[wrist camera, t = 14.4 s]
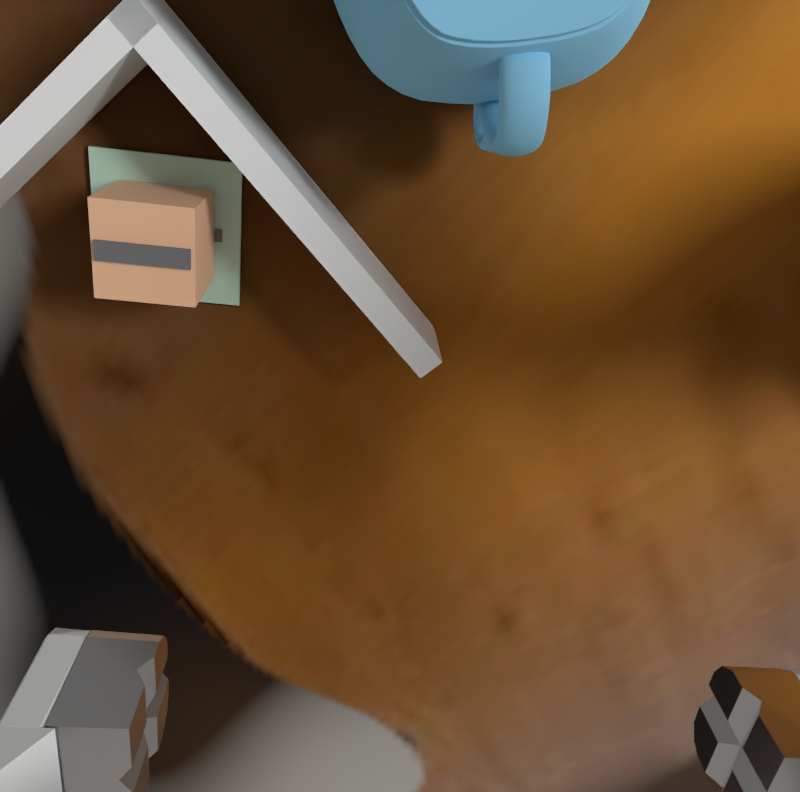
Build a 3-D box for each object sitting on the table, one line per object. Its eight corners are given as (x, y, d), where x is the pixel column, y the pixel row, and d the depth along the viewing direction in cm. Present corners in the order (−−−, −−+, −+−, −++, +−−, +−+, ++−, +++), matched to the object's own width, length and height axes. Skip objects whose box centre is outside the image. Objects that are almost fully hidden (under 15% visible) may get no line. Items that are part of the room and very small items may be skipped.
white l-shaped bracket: (433, 326, 43) (442, 362, 38) (217, 488, 48) (200, 539, 43) (163, -1, 35) (131, -9, 30) (-67, 229, 40) (-129, 255, 35)
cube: (214, 189, 39) (193, 209, 34) (214, 279, 41) (194, 308, 37) (119, 179, 39) (86, 197, 34) (124, 270, 41) (92, 299, 36)
